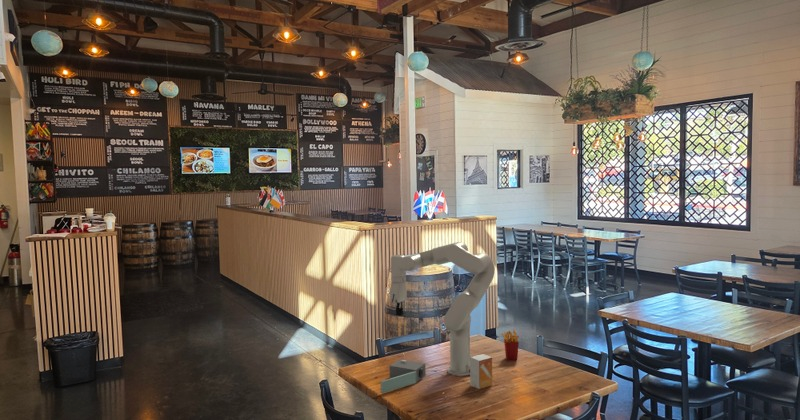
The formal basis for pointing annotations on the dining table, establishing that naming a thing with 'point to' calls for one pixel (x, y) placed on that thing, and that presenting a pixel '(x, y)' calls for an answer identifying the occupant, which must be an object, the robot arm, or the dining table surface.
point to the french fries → (511, 346)
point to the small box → (481, 371)
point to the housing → (407, 369)
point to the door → (398, 382)
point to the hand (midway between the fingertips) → (399, 314)
